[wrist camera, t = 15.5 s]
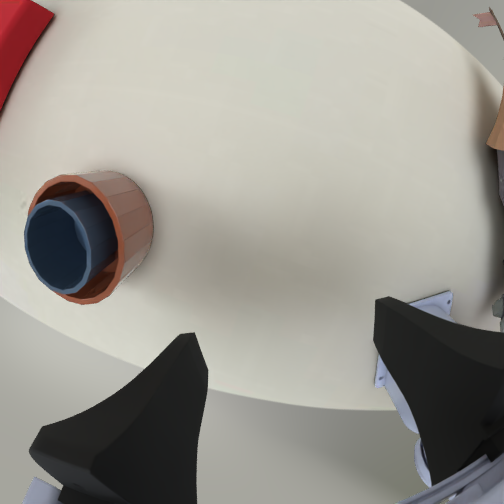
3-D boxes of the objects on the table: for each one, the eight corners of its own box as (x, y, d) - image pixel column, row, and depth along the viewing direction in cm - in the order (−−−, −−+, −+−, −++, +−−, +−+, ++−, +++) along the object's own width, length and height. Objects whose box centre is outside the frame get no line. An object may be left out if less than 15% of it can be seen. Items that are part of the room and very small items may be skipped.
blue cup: (142, 253, 18) (104, 288, 12) (86, 264, 18) (42, 298, 13) (124, 179, 17) (75, 187, 11) (68, 199, 17) (15, 214, 11)
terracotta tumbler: (165, 266, 19) (142, 297, 14) (83, 280, 19) (50, 308, 15) (139, 156, 17) (104, 156, 12) (57, 188, 17) (16, 197, 12)
